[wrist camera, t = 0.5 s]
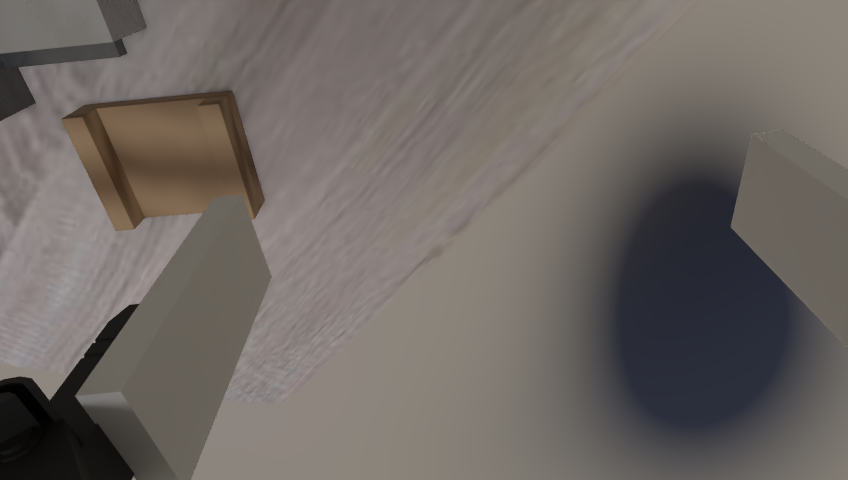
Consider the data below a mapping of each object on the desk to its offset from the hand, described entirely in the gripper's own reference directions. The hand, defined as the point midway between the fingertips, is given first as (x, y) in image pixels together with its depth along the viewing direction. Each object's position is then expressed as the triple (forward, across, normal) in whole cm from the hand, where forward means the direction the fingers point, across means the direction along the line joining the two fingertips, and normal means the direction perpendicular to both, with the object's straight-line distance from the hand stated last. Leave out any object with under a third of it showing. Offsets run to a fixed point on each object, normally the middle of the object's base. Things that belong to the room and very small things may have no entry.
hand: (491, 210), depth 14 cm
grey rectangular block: (+25, -24, +4) cm, 35 cm away
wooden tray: (+25, -22, -7) cm, 34 cm away
